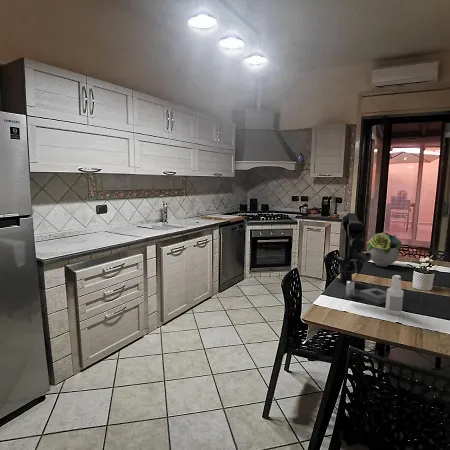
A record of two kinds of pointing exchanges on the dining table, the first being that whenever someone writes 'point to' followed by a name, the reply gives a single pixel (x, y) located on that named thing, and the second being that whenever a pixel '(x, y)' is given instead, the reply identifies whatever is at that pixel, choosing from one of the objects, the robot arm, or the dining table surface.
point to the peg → (350, 288)
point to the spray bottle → (394, 296)
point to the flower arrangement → (384, 249)
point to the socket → (374, 295)
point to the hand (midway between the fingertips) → (352, 274)
